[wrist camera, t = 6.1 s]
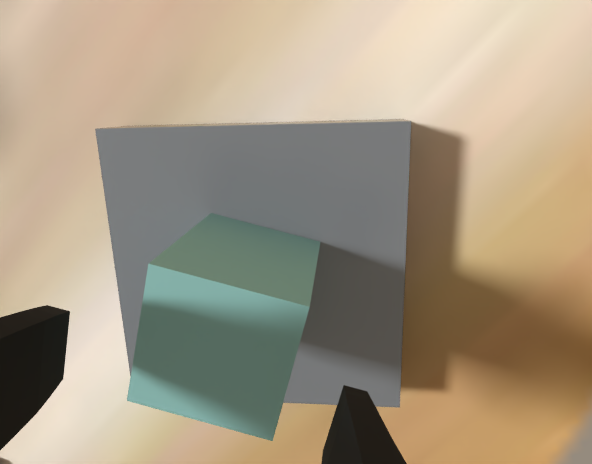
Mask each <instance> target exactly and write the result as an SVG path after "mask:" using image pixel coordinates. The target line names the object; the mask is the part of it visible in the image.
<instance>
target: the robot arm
mask: <svg viewBox="0 0 592 464" xmlns="http://www.w3.org/2000/svg"><path fill="white" fill-rule="evenodd" d="M69 315H70V311H66V310H63V309H59V308H55V307H51V306H48V305H47V306H42V307H37V308H33V309H29V310H25V311H22V312H18V313H14V314H11V315H8V316H4V317H1V318H0V450H1V449H2V448H3V447H4V446H5V445H6V444H7V443H8V442H9V441H10V440H11V439H12V438H13V437H14V436H15V435H16V434H17V433H18V432H19V431H20V430H21V429H22V428H23V427H24V426H25V425H26V424H27V423H28V422H29V421H30V420H31V419H32V418H33V417H34V415H35V414H36V413H37V412H38V411H39V410H40V409H41V407H42V406H43V405H44V403H45V402H46V401H47V400H48V398H49V397H50V396H51V394H52V393H53V392H54V390H55V389H56V388H57V386H58V385H59V384H60V382H61V381H62V380H63V375H64V365H65V355H66V345H67V335H68V325H69ZM322 464H406V462H405V460H404V459H403V457H402V455H401V453H400V452H399V450H398V448H397V446H396V445H395V443H394V441H393V439H392V437H391V436H390V434H389V432H388V430H387V428H386V426H385V424H384V422H383V420H382V419H381V417H380V415H379V413H378V411H377V409H376V407H375V405H374V403H373V401H372V399H371V397H370V395H369V393H368V392H367V391H364V390H360V389H357V388H353V387H349V386H345V385H344V386H343V389H342V392H341V395H340V398H339V402H338V405H337V408H336V411H335V414H334V417H333V421H332V424H331V427H330V430H329V433H328V437H327V440H326V443H325V446H324V449H323V456H322Z"/></svg>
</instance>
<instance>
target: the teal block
mask: <svg viewBox="0 0 592 464" xmlns="http://www.w3.org/2000/svg"><path fill="white" fill-rule="evenodd" d="M319 248H320V242H319V241H315V240H312V239H308V238H304V237H300V236H296V235H293V234H289V233H285V232H281V231H278V230H274V229H270V228H266V227H262V226H259V225H255V224H251V223H247V222H243V221H240V220H236V219H232V218H228V217H224V216H221V215H217V214H213V213H210V214H209V215H208V216H207V217H205V218H204V219H203V220H202V221H200V222H199V223H198V224H197V225H196V226H194V227H193V228H192V229H191V230H189V231H188V232H187V233H186V234H184V235H183V236H182V237H181V238H179V239H178V240H177V241H176V242H175V243H173V244H172V245H171V246H170V247H168V248H167V249H166V250H165V251H163V252H162V253H161V254H160V255H158V256H157V257H156V258H155V259H154V260H152V261H151V262H150V263H149V264H148V270H147V276H146V282H145V289H144V295H143V302H142V308H141V314H140V321H139V327H138V333H137V340H136V346H135V353H134V359H133V365H132V372H131V378H130V385H129V391H128V397H127V401H130V402H134V403H137V404H141V405H145V406H148V407H152V408H155V409H159V410H163V411H166V412H170V413H173V414H177V415H181V416H184V417H188V418H191V419H195V420H199V421H202V422H206V423H209V424H213V425H216V426H220V427H224V428H227V429H231V430H234V431H238V432H242V433H245V434H249V435H252V436H256V437H260V438H263V439H267V440H270V441H273V437H274V434H275V430H276V426H277V423H278V419H279V416H280V412H281V408H282V405H283V401H284V398H285V394H286V390H287V387H288V383H289V380H290V376H291V372H292V369H293V365H294V362H295V358H296V354H297V351H298V347H299V344H300V340H301V336H302V333H303V329H304V325H305V322H306V318H307V315H308V311H309V307H310V302H311V296H312V290H313V284H314V278H315V272H316V266H317V260H318V254H319Z"/></svg>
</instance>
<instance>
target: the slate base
mask: <svg viewBox="0 0 592 464" xmlns="http://www.w3.org/2000/svg"><path fill="white" fill-rule="evenodd" d="M95 130H96V137H97V144H98V151H99V158H100V165H101V172H102V179H103V186H104V193H105V200H106V207H107V214H108V221H109V228H110V235H111V242H112V249H113V256H114V263H115V270H116V277H117V284H118V291H119V298H120V305H121V312H122V319H123V326H124V333H125V340H126V347H127V354H128V361H129V368H130V375H131V372H132V365H133V359H134V353H135V346H136V340H137V333H138V327H139V321H140V314H141V308H142V302H143V295H144V289H145V282H146V276H147V270H148V264H149V263H150V262H151V261H152V260H154V259H155V258H156V257H157V256H158V255H160V254H161V253H162V252H163V251H165V250H166V249H167V248H168V247H170V246H171V245H172V244H173V243H175V242H176V241H177V240H178V239H179V238H181V237H182V236H183V235H184V234H186V233H187V232H188V231H189V230H191V229H192V228H193V227H194V226H196V225H197V224H198V223H199V222H200V221H202V220H203V219H204V218H205V217H207V216H208V215H209V214H210V213H213V214H217V215H221V216H224V217H228V218H232V219H236V220H240V221H243V222H247V223H251V224H255V225H259V226H262V227H266V228H270V229H274V230H278V231H281V232H285V233H289V234H293V235H296V236H300V237H304V238H308V239H312V240H315V241H319V242H320V248H319V254H318V260H317V266H316V272H315V278H314V284H313V290H312V296H311V302H310V307H309V311H308V315H307V318H306V322H305V325H304V329H303V333H302V336H301V340H300V344H299V347H298V351H297V354H296V358H295V362H294V365H293V369H292V372H291V376H290V380H289V383H288V387H287V390H286V394H285V398H284V401H283V403H305V404H330V405H338V402H339V398H340V395H341V392H342V389H343V386H344V385H345V386H349V387H353V388H357V389H360V390H364V391H367V392H368V393H369V395H370V397H371V399H372V401H373V403H374V405H375V406H379V407H400V386H401V361H402V336H403V311H404V287H405V262H406V237H407V212H408V187H409V163H410V138H411V121H408V120H404V119H390V120H350V121H309V122H269V123H228V124H188V125H147V126H120V127H109V128H99V129H95Z"/></svg>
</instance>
